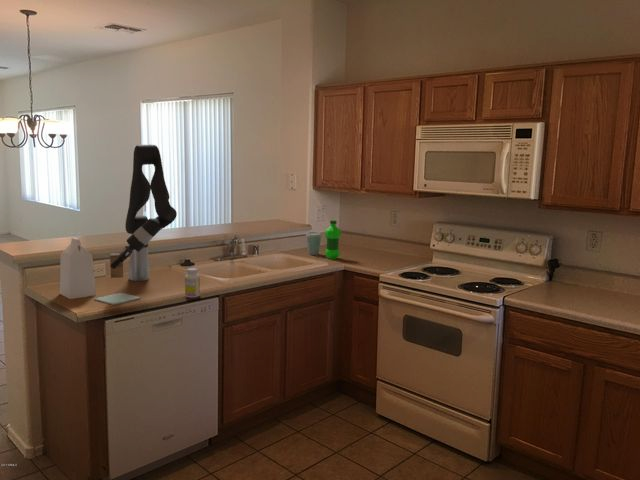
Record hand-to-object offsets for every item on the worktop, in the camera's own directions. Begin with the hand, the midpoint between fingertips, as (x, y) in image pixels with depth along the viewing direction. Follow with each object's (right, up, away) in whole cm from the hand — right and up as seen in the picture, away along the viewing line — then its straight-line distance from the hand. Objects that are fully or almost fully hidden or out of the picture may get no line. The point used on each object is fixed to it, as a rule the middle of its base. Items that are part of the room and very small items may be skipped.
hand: (112, 266), depth 237 cm
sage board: (+1, -15, +3) cm, 15 cm away
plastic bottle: (+100, -1, +116) cm, 153 cm away
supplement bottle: (+33, -15, +12) cm, 38 cm away
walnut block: (+2, -5, +1) cm, 5 cm away
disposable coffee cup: (+87, +2, +130) cm, 156 cm away
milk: (-20, -14, +10) cm, 26 cm away
